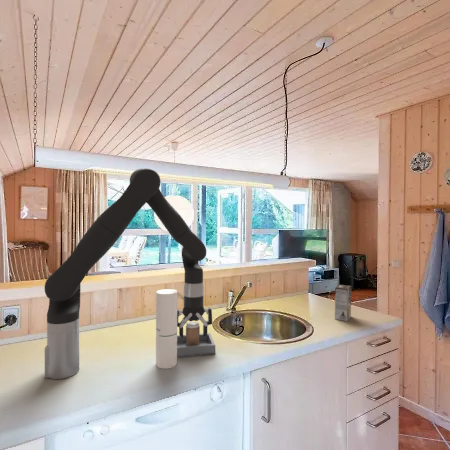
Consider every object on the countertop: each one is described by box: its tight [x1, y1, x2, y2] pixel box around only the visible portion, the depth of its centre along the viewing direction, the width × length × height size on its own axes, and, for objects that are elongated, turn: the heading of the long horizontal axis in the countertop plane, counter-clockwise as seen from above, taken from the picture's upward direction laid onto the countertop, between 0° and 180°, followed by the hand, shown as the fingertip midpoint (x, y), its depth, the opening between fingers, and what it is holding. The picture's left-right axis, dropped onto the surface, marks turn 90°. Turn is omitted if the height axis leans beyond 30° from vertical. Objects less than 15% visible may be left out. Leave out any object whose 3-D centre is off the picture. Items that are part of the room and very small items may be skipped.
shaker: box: [185, 321, 201, 346], centre depth 119 cm, size 5×5×9 cm
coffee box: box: [334, 284, 352, 322], centre depth 159 cm, size 9×6×16 cm
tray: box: [177, 332, 216, 359], centre depth 119 cm, size 15×12×4 cm
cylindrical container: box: [155, 288, 178, 369], centre depth 107 cm, size 7×7×25 cm
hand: (193, 336), depth 119 cm, fingers open, 8 cm apart
